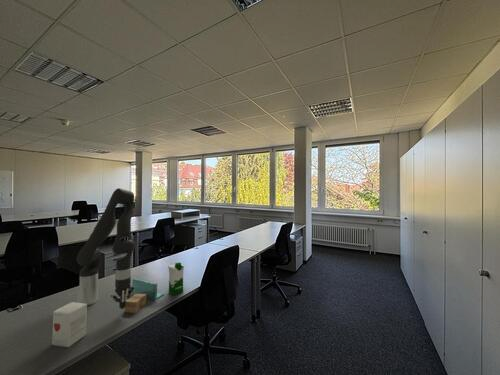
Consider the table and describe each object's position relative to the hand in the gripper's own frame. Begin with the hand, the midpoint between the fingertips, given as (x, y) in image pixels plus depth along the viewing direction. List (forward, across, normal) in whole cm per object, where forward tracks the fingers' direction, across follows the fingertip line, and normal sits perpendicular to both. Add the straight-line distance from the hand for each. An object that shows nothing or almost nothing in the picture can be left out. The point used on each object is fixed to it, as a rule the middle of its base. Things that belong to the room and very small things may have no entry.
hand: (122, 307), depth 120 cm
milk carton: (+4, +34, -8) cm, 35 cm away
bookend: (+4, +23, +7) cm, 25 cm away
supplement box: (+4, -23, +4) cm, 24 cm away
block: (+4, +9, 0) cm, 10 cm away
